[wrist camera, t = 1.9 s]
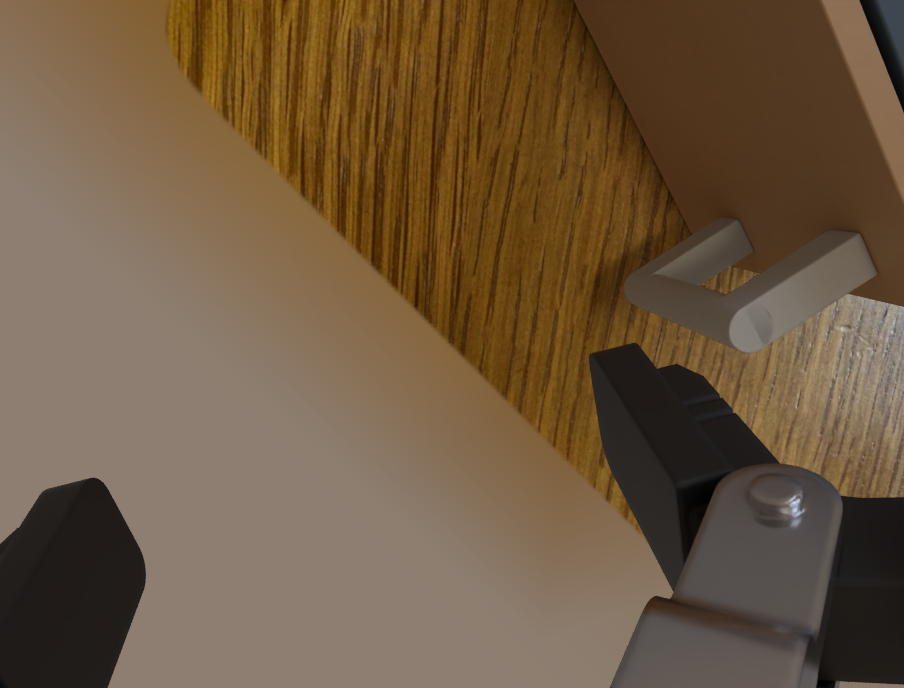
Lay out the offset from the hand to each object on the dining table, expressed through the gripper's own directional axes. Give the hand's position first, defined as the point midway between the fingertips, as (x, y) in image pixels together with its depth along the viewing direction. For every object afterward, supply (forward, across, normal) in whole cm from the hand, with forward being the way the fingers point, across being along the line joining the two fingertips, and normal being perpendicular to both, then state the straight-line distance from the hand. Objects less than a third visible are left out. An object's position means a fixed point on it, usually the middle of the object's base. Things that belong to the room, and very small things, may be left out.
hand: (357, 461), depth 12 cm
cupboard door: (+24, -10, +1) cm, 26 cm away
